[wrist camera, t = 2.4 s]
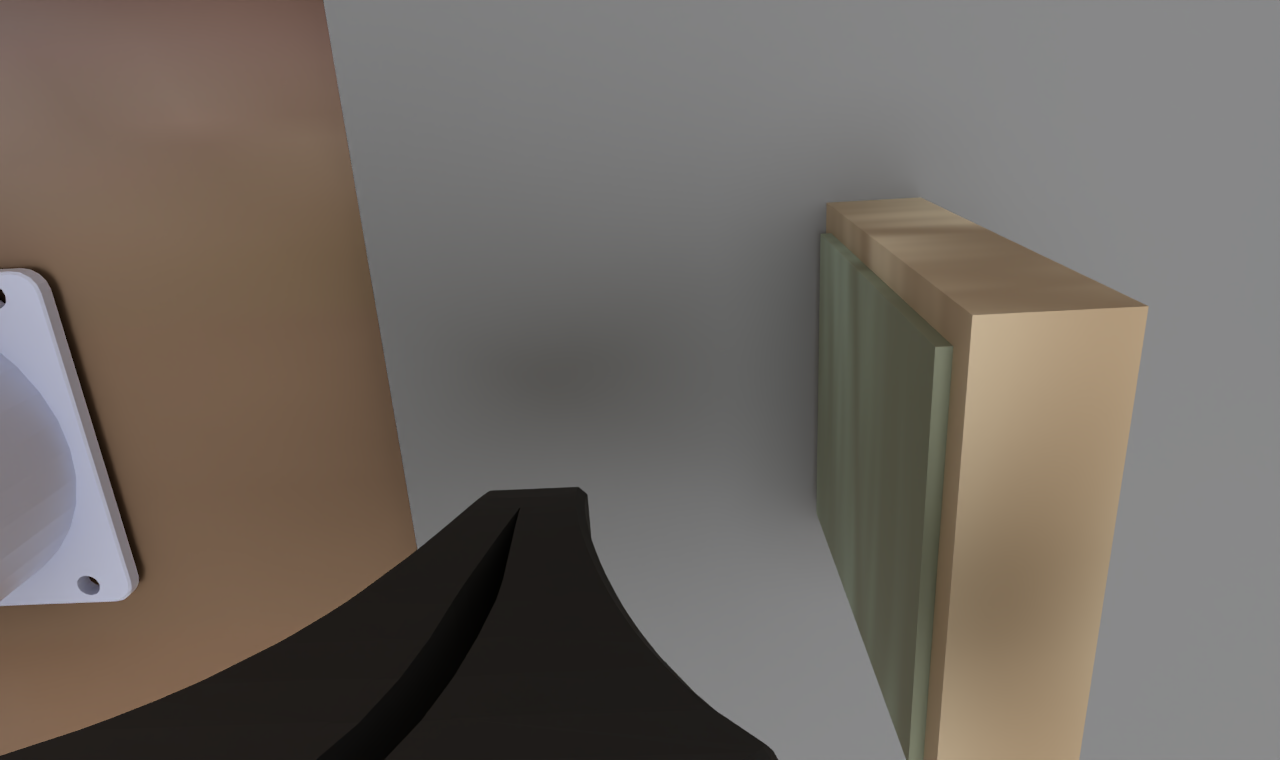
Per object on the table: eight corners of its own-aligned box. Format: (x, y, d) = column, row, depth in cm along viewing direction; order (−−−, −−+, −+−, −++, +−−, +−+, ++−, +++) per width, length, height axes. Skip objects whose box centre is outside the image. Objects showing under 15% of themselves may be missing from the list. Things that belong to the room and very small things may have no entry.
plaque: (812, 521, 19) (917, 824, 11) (816, 203, 16) (953, 316, 9) (903, 517, 19) (1070, 819, 11) (920, 197, 16) (1147, 305, 9)
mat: (466, 769, 22) (459, 794, 22) (304, -206, 15) (285, -221, 14) (1318, 742, 22) (1342, 766, 21) (1606, -304, 14) (1660, -325, 13)
